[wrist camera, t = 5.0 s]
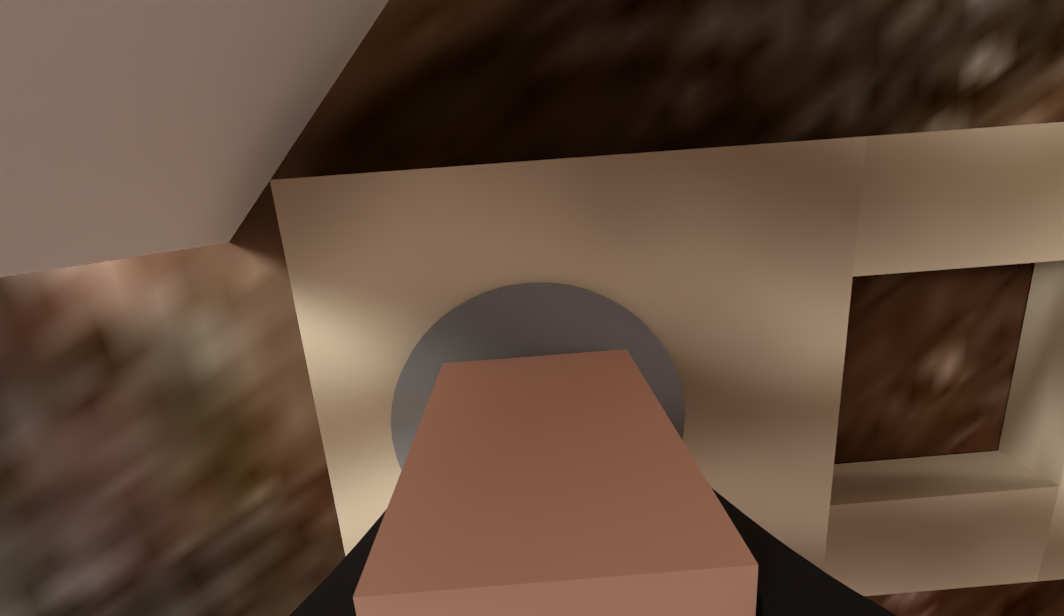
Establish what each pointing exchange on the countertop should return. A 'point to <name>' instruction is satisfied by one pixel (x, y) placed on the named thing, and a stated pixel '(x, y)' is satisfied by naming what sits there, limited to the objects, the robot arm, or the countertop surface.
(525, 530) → the terracotta block
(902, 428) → the countertop surface
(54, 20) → the milk
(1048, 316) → the pocket board
